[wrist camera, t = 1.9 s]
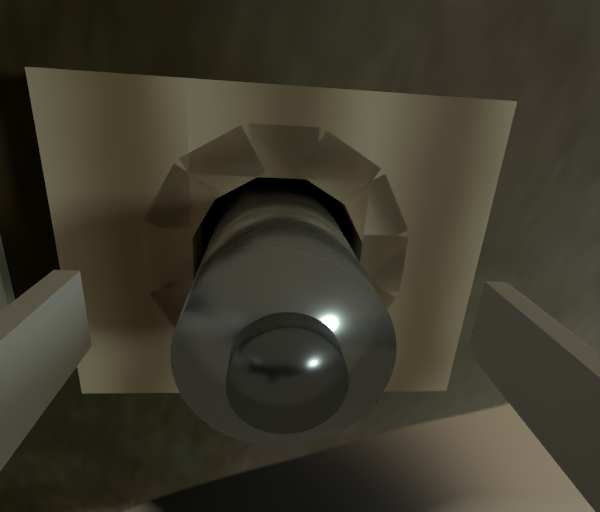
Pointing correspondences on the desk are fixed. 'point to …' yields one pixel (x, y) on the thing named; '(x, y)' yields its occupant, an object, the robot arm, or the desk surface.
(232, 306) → the gray knobbed peg
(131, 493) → the desk surface
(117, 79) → the housing
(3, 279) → the mat
